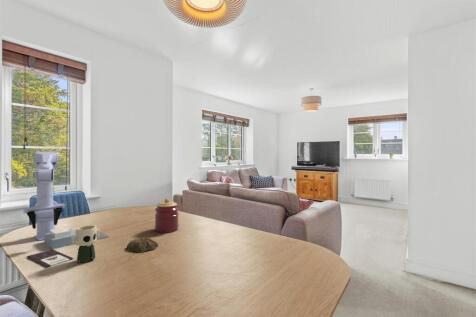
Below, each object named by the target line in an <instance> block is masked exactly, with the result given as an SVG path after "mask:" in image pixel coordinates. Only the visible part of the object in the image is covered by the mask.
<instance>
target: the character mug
mask: <svg viewBox="0 0 476 317" xmlns="http://www.w3.org/2000/svg"><path fill="white" fill-rule="evenodd" d="M75 231H76V235H73V236H72V244H73V245H76V246H78V249H77V257H76V261H78V262H79V263H84V262H91V259H92V260H95V259H96V252H95V245H94V244H95V243H96V242H97V237H98V236H99V233H100V232H101V231H100V228H97V225H91V224H90V225H82V226H78V227H76V228H75ZM75 237H76V241H75ZM75 243H76V244H75Z"/></svg>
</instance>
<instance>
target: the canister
mask: <svg viewBox="0 0 476 317" xmlns="http://www.w3.org/2000/svg"><path fill="white" fill-rule="evenodd" d="M179 209H180V208H179V207H178V203H176V202H175V201H173V200H170V198H168V197H166V198H165V199H164V201H160V202H158V203H157V204H156V207H155V208H154V211H155V214H154V217H155V218H154V222H155V223H154V231H156V232H157V233H172V232H175V231H178V230H179V226H180V225H179Z"/></svg>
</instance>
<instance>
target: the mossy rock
mask: <svg viewBox="0 0 476 317" xmlns="http://www.w3.org/2000/svg"><path fill="white" fill-rule="evenodd" d="M158 244H159V243H157V242H156V241H155V240H154V239H152V238H150V237H144V236H143V237H137V238H134V239H133V240H130V241H129V242H128V244H127V245H126V249H127V250H128V251H131V252H134V253H144V252H147V251H155V250H156V249H157V247H158V246H159V245H158Z"/></svg>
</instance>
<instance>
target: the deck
mask: <svg viewBox="0 0 476 317" xmlns="http://www.w3.org/2000/svg"><path fill="white" fill-rule="evenodd" d="M67 229H68V230H70V235H68V236H63V237H59V238H54V237H53V236H51V235H50V233H46V234H44V243H45V244H46V245H47V246H48V247H49V248H51V249H53V250H55V249H56V250H57V249H60V248H64V246H65V247H67V246H72V245H76V243H75V244H72V236H73V235H76V230H73V229H72V228H67ZM75 241H76V237H75Z"/></svg>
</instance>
